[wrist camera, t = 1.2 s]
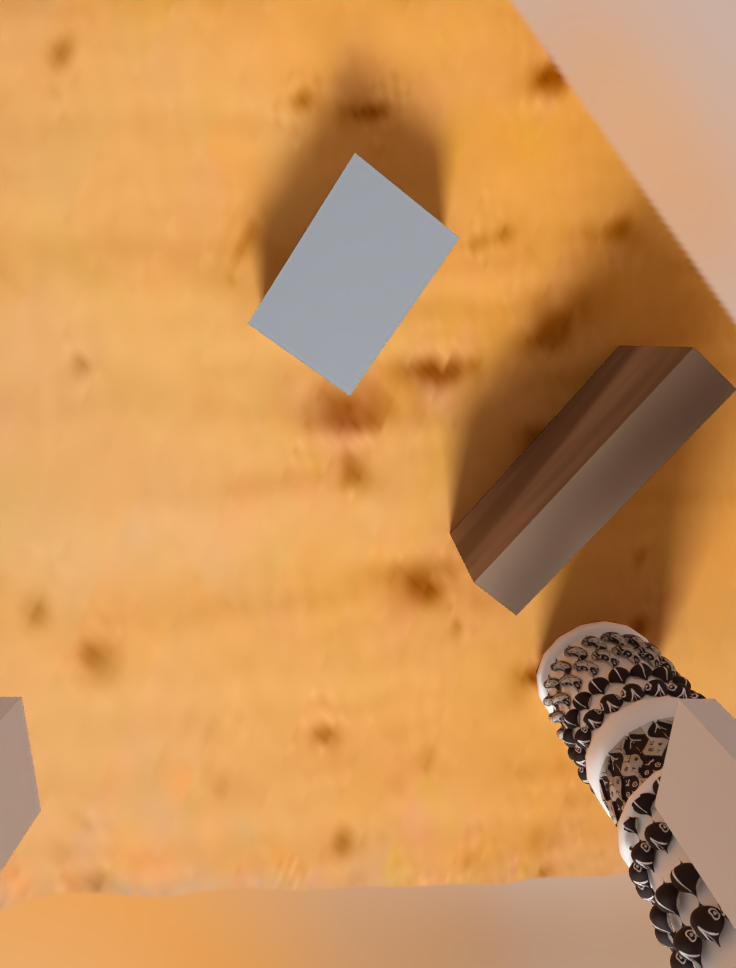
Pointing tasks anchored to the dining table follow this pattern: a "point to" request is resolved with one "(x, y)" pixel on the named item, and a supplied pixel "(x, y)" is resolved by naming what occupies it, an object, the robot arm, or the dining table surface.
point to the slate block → (353, 276)
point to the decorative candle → (634, 773)
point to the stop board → (586, 467)
